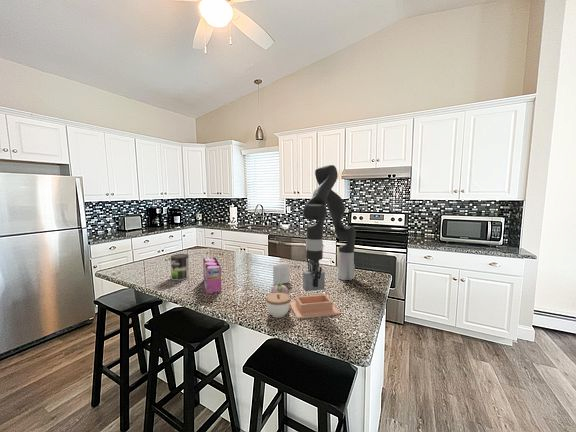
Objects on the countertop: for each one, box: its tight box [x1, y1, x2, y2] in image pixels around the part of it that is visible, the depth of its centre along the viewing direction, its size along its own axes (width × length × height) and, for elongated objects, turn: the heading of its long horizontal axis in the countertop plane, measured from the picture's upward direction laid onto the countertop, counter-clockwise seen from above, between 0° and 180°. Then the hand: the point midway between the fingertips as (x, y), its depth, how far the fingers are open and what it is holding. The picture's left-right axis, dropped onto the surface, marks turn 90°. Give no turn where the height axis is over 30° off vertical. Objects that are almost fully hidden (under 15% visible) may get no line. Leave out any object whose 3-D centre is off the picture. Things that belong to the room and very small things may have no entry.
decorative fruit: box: [270, 283, 290, 296], centre depth 124 cm, size 9×8×10 cm
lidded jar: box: [265, 293, 291, 319], centre depth 113 cm, size 11×11×9 cm
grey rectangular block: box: [302, 270, 326, 292], centre depth 118 cm, size 9×4×8 cm, turn 103°
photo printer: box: [272, 262, 291, 286], centre depth 151 cm, size 10×4×12 cm, turn 123°
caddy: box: [289, 294, 342, 320], centre depth 119 cm, size 16×20×4 cm
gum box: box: [202, 257, 222, 294], centre depth 148 cm, size 24×8×14 cm, turn 23°
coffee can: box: [170, 253, 190, 281], centre depth 160 cm, size 10×10×14 cm
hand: (313, 284), depth 118 cm, fingers closed on grey rectangular block, 4 cm apart
